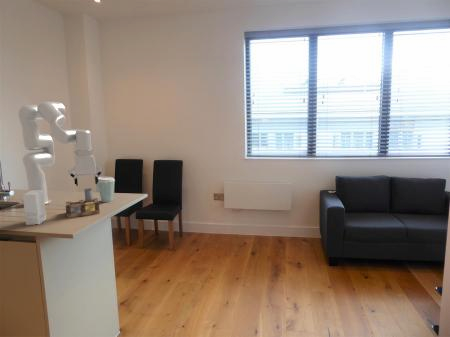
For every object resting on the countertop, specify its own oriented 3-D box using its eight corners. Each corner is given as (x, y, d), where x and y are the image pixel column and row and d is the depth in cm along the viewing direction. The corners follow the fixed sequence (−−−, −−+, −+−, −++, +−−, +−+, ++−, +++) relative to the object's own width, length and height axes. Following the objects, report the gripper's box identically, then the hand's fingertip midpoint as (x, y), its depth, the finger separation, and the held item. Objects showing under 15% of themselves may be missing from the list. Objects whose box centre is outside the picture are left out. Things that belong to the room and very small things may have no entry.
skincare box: (34, 220, 162) (30, 190, 159) (47, 219, 162) (44, 189, 160) (25, 225, 153) (21, 194, 151) (39, 224, 154) (35, 193, 152)
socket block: (66, 218, 163) (65, 206, 162) (67, 212, 173) (65, 201, 172) (99, 213, 170) (98, 202, 169) (98, 208, 180) (97, 197, 179)
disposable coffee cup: (116, 198, 203) (114, 175, 201) (116, 202, 193) (114, 178, 191) (98, 200, 200) (96, 176, 197) (98, 204, 190) (96, 179, 187)
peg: (86, 209, 171) (84, 189, 169) (86, 208, 174) (84, 188, 172) (93, 208, 172) (91, 189, 171) (93, 207, 176) (91, 187, 174)
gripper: (66, 155, 161) (69, 187, 164) (102, 153, 169) (104, 184, 172) (66, 153, 168) (69, 184, 171) (101, 151, 175) (103, 181, 178)
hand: (86, 184), depth 171 cm, fingers open, 9 cm apart
